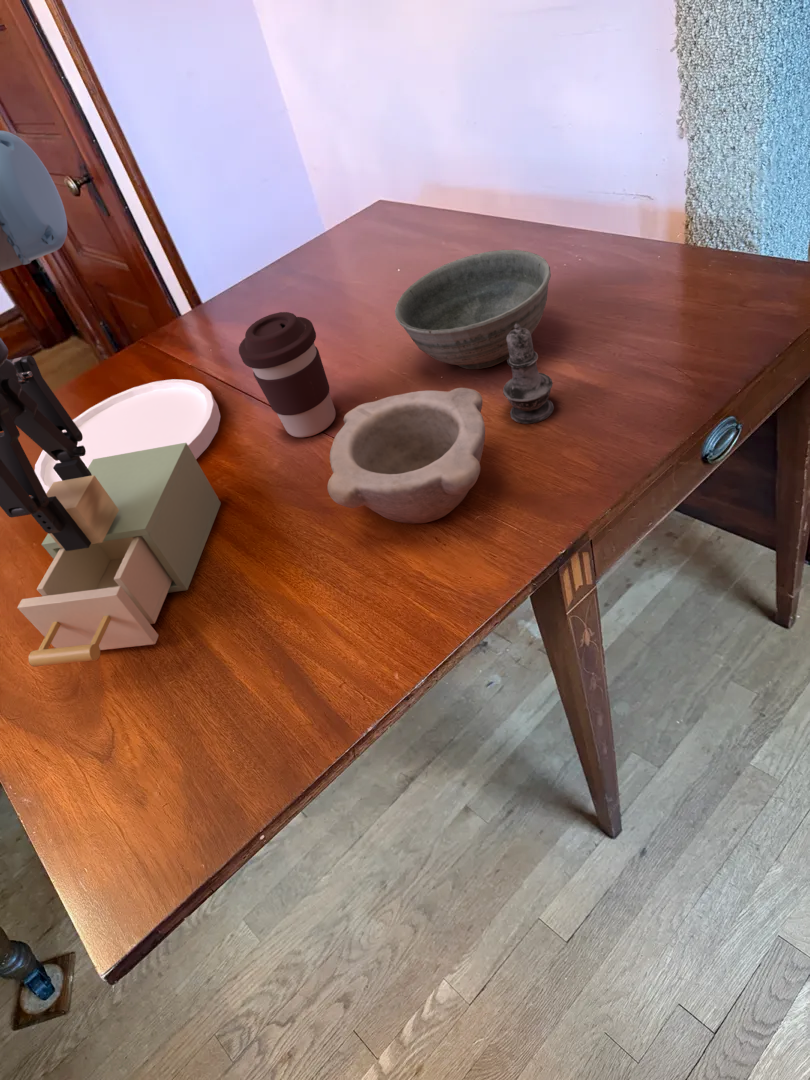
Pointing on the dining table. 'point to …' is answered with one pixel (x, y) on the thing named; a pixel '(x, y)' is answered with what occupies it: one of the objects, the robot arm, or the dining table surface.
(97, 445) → the plate
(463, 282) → the bowl
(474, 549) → the dining table surface
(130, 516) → the cabinet
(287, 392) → the coffee cup
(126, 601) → the drawer
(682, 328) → the dining table surface
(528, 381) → the grey stone chess piece
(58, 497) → the block
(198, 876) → the dining table surface
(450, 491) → the mortar
